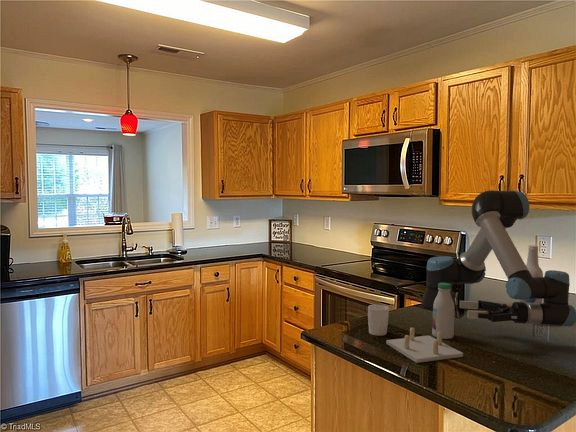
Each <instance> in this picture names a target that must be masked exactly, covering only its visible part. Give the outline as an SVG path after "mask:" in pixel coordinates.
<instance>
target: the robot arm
mask: <svg viewBox="0 0 576 432" xmlns="http://www.w3.org/2000/svg"><path fill="white" fill-rule="evenodd" d="M529 212H530V201H529V199H528V197H527V195H526V194H525V193H524V192H522V191H518V190H484V191H482V192H480V193H479V194H477V196H476V197H475V198H474V200H473V202H472V203H471V216H472V219H473V221H474V223H475V224H476V226H477V227H479V231H478V233H477V234H476V235H475V237H474V239H473V241H472V242H471V244H470V246H469V247H468V248H467V251H464V252H463V251H462V253H461V254H460V255H459V257H458V258H455V259H454V258H453V257H452V256H445V255H444V256H441V255H440V256H433V257H430V258H429V259H428V260H427V263H426V284H425V285H426V286H425V291H424V293H423V298H422V299H421V306H423V307H425V308H427V309H430V310H433V304H434V301H435V298H436V297H437V295H438V291H439V289H438V283H449V284H451V290H450V293H451V297H452V299H453V302H454V307H455V309H456V307H457V303H456V300H455V296H454V294H453V285H465V284H466V285H469V284H470V285H473V284H478V283H481V282H483V280H484V278H485V277H486V271H487V268H486V263H485V261H486V259H487V258H488V256H489V254H490V253H491V252H492V251H493V253H494V255H495V257H496V259H497V261H498V263H499V264H500V266H501V269H502V270H503V272H504V274H505V276H506V278H507V281H506V282H505V288H506V290H505V291H506V293H507V296H508V297H509V298H511V299H513V300H519V301H514V302H513V303H512V305H511V306H508V304H506V303H499V302H492V301H485V300H481V299H480V300H479V299H478V301H471V300H469V301H468V300H459V309H468V310H467V315H466V316H467V319H473V320H474V319H475V320H488V321H491V322H492V323H499V322H511V321H512V322H513V323H515V324H529V325H532V326H536V325H541V326H542V325H543V326H545V325H546V326H556V327H573V326H574V325H575V324H576V309H575V307H574V306H573V305H570V304H569V296H570V294H569V293H570V286H571V284H570V274H569V273H568V272H566V271H562V270H555V269H554V270H552V269H551V270H546V271H545V272H544V274H543V277H532V275H531V273H530V272H529V270H528V268H527V267H526V263H525V262H524V260H523V258H522V256H521V254H520V252H519V251H518V249H517V247H516V246H515V243H514V242H513V240H512V237H511V236H510V235H509V233H508V231H507V228H508V229H509V228H512V227H513V226H514V224H515V223H516V221H517V220H523V219H525V218H526V217H528V215H529ZM527 299H542V300H543V302H542V303H528V302H527V303H526V304H525V303H524V302H520V300H527ZM469 309H470V310H469ZM471 309H472V310H471Z"/></svg>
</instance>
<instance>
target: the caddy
mask: <svg viewBox="0 0 576 432" xmlns="http://www.w3.org/2000/svg"><path fill="white" fill-rule="evenodd" d="M415 330H416V329H415V327H409V335H408V334H405V335H404V337H403V338H394V339H393V338H392V339H387V340H386V341H385V343H386V345H388V346H389V347H390V348H393V349H394V350H395V351H397V352H398V353H400V354H402V355H403V356H405V357H407V358H408V359H410V360H411V361H413V362H414V363H416V364H419V363H425V362H433V361H434V362H435V361H441V360H447V359H448V360H449V359H457V358H462V357H463V358H464V353H463V352H462V351H460V350H458V349H456V348H454V347H452V346H451V345H448V344H446V343H444V342H443V339H442V332H437V337H434V336H431V335H421V336H415V334H416V333H415Z"/></svg>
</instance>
